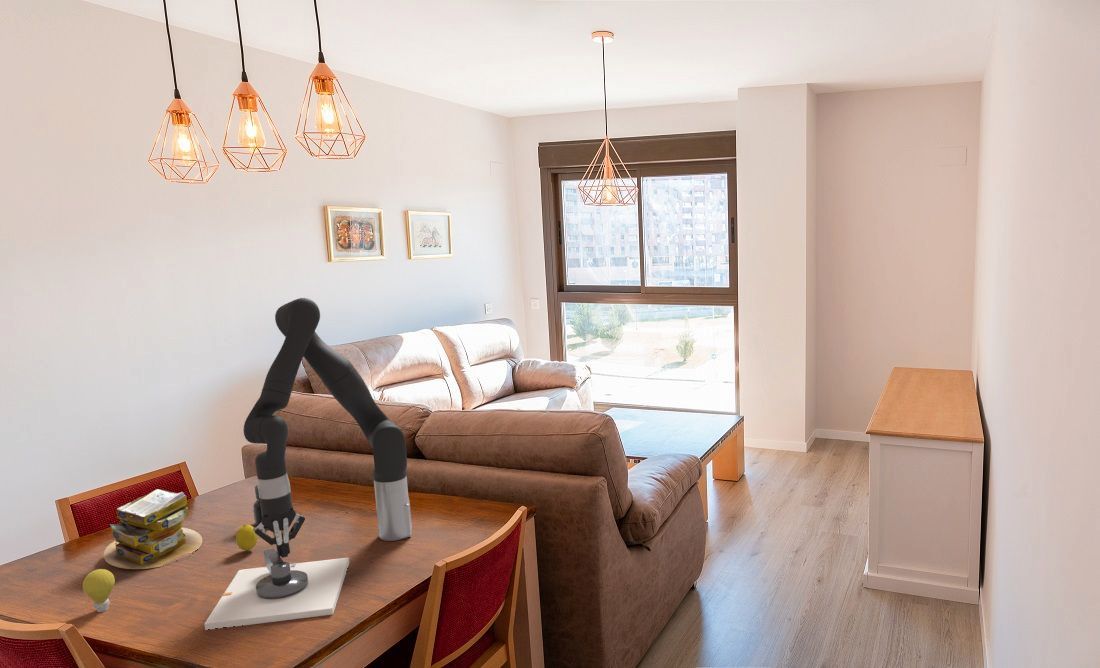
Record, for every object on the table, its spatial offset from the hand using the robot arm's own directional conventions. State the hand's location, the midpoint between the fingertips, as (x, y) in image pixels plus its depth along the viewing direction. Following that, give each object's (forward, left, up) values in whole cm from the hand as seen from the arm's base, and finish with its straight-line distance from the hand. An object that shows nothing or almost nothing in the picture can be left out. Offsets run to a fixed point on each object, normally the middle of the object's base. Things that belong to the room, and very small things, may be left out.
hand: (284, 556), depth 190 cm
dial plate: (-1, +9, -6) cm, 11 cm away
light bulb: (+42, +6, -6) cm, 43 cm away
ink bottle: (+14, -43, -6) cm, 45 cm away
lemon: (+15, -21, -6) cm, 26 cm away
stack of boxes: (+42, -28, -6) cm, 51 cm away
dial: (0, +6, -4) cm, 8 cm away
